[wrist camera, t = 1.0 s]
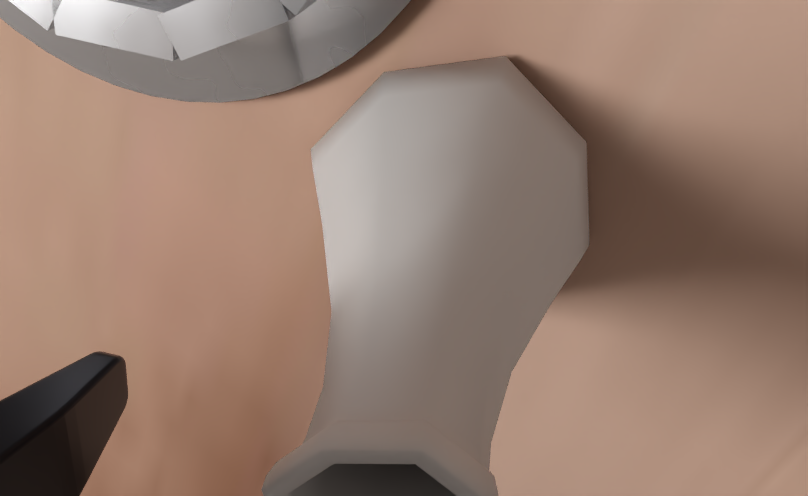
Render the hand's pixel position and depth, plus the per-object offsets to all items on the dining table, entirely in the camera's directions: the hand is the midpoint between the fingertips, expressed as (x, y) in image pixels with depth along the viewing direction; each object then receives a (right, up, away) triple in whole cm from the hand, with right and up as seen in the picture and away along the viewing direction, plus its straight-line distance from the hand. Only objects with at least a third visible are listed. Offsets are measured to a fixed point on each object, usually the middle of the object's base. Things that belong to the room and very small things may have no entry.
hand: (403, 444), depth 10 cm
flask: (+1, +5, +7) cm, 9 cm away
